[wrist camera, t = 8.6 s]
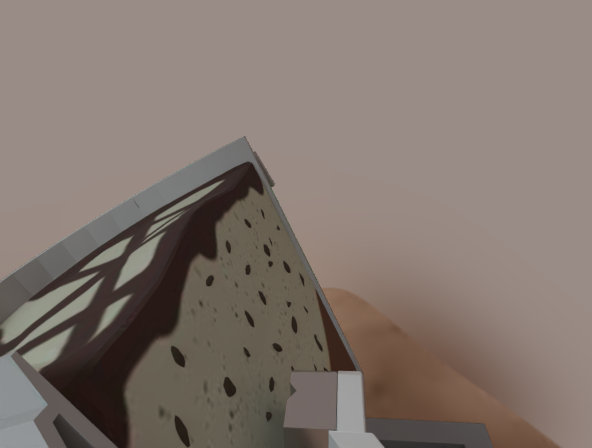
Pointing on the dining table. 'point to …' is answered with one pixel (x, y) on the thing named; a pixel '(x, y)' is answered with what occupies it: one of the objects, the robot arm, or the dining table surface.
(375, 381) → the dining table surface
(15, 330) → the food container
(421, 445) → the tray
